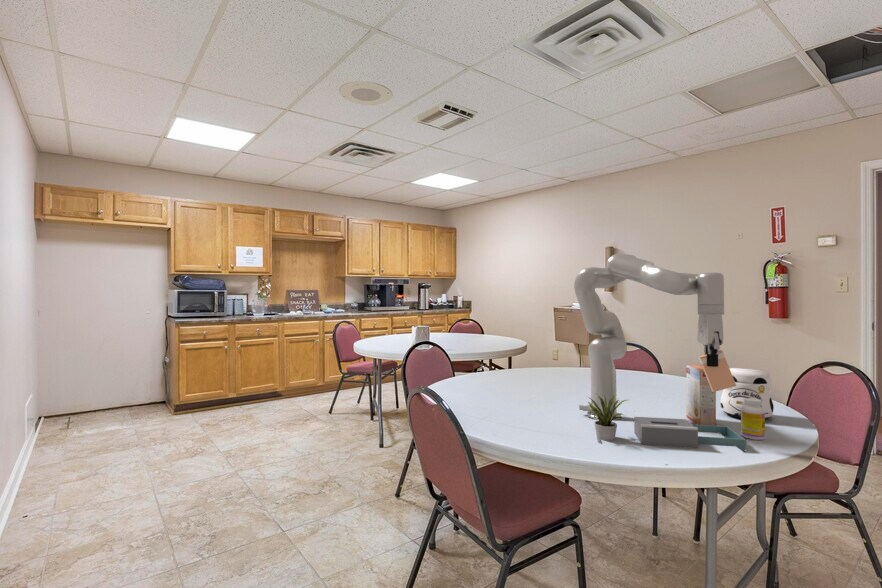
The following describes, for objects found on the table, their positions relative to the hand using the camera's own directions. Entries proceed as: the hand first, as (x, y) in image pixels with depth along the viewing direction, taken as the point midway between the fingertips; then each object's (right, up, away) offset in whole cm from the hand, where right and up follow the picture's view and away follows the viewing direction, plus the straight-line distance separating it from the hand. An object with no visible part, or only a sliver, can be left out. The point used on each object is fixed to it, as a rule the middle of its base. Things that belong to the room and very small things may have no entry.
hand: (711, 365), depth 145 cm
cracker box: (+10, -25, +23) cm, 35 cm away
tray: (0, -25, 0) cm, 25 cm away
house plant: (-33, -26, +1) cm, 42 cm away
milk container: (+32, -25, +30) cm, 50 cm away
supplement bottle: (+17, -25, +4) cm, 31 cm away
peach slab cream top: (+4, -7, -1) cm, 8 cm away
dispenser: (-17, -25, -2) cm, 30 cm away
